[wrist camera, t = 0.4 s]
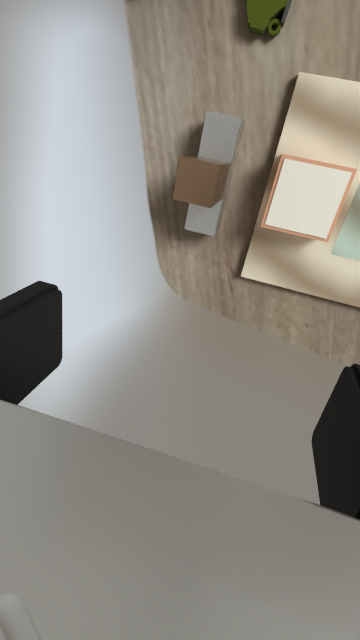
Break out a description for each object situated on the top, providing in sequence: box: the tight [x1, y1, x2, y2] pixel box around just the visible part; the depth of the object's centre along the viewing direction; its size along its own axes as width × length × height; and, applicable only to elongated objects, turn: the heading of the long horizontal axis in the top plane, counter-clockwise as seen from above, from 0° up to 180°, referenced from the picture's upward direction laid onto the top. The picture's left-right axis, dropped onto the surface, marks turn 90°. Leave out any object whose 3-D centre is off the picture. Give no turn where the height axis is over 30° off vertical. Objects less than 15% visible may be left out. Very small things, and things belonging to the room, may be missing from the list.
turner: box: [173, 111, 245, 236], centre depth 29 cm, size 10×3×10 cm, turn 169°
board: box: [241, 72, 360, 307], centre depth 31 cm, size 18×14×1 cm
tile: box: [261, 154, 357, 243], centre depth 29 cm, size 6×6×3 cm
